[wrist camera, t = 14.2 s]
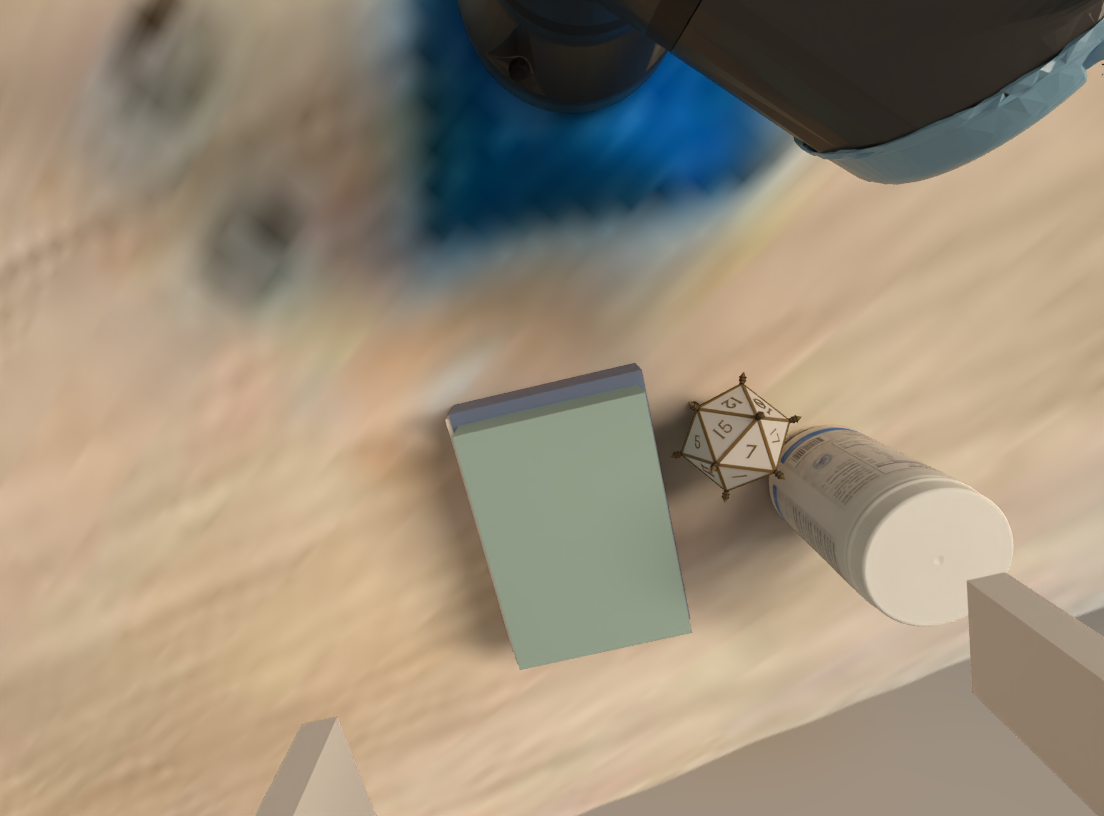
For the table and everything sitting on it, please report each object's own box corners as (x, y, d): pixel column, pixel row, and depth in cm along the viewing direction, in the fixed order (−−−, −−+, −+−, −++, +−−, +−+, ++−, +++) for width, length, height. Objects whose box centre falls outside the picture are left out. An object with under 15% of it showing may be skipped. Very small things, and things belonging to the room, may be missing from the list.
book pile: (449, 406, 46) (436, 426, 40) (634, 363, 45) (649, 377, 39) (514, 635, 51) (512, 682, 45) (681, 598, 50) (700, 642, 45)
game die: (765, 534, 43) (680, 454, 50) (843, 450, 42) (745, 380, 48) (719, 513, 37) (629, 425, 43) (809, 413, 35) (701, 337, 42)
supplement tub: (859, 531, 49) (991, 639, 35) (754, 522, 49) (843, 627, 35) (887, 426, 47) (1040, 495, 33) (777, 414, 46) (883, 480, 32)
